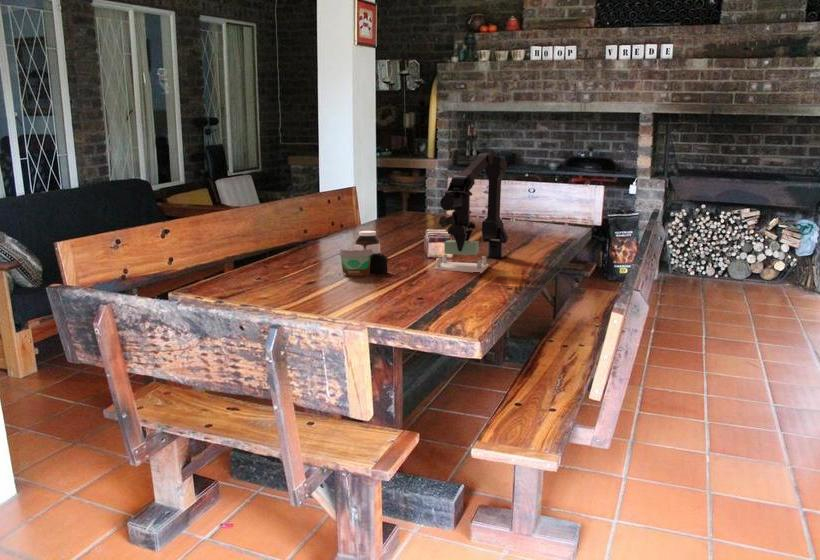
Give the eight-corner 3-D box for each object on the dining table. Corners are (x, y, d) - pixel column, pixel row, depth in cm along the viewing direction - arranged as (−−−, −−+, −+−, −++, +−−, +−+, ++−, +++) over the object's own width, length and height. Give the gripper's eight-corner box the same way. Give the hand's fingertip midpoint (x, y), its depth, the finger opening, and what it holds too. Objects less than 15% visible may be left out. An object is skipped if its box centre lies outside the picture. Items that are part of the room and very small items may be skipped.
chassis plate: (442, 265, 284) (442, 254, 284) (488, 267, 279) (488, 256, 278) (434, 270, 273) (434, 259, 272) (481, 273, 268) (481, 261, 267)
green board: (448, 251, 279) (448, 240, 278) (478, 253, 276) (478, 241, 275) (444, 253, 274) (444, 241, 274) (475, 255, 271) (475, 243, 270)
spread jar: (381, 258, 302) (381, 230, 300) (377, 263, 291) (377, 234, 289) (352, 258, 304) (352, 230, 301) (347, 262, 292) (347, 233, 290)
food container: (339, 279, 258) (338, 251, 256) (339, 276, 264) (338, 248, 262) (374, 278, 259) (374, 250, 257) (373, 275, 265) (372, 248, 263)
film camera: (392, 271, 273) (392, 247, 271) (385, 276, 264) (385, 251, 262) (354, 270, 277) (353, 246, 275) (345, 274, 267) (345, 250, 266)
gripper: (447, 205, 283) (447, 245, 286) (434, 210, 265) (434, 253, 268) (475, 206, 280) (475, 246, 283) (464, 211, 262) (463, 254, 265)
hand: (461, 250), depth 275 cm, fingers closed on green board, 5 cm apart
